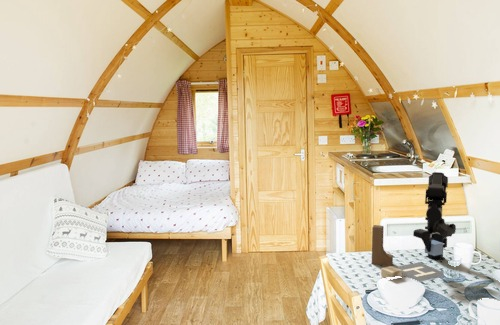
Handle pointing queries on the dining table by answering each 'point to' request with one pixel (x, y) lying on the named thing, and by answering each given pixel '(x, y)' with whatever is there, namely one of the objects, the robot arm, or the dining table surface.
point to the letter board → (420, 271)
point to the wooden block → (379, 248)
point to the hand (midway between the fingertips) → (433, 251)
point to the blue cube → (435, 248)
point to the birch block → (391, 272)
